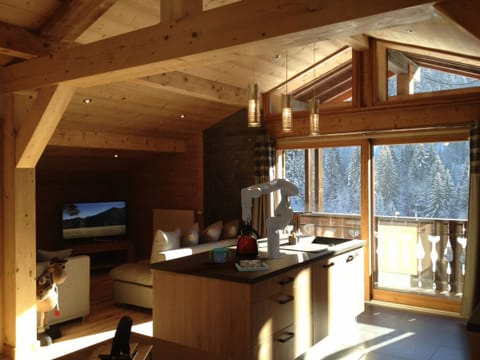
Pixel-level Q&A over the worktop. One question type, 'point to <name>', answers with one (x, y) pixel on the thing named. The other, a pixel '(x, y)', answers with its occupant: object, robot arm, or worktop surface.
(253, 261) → the T block
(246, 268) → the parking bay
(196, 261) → the worktop surface
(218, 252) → the snack cup
